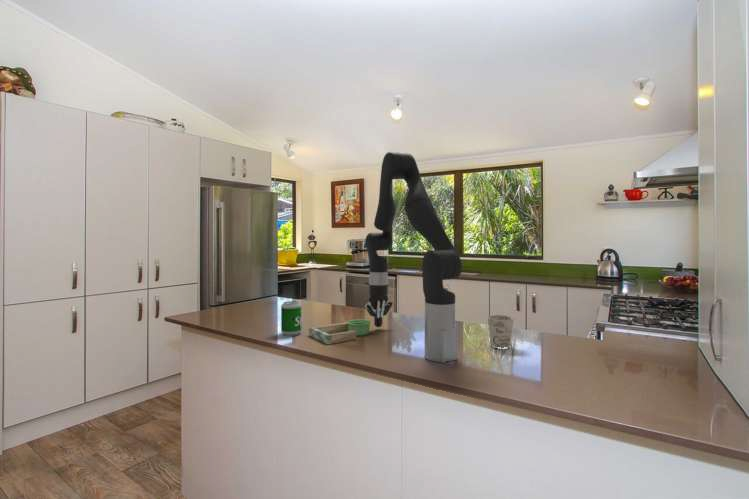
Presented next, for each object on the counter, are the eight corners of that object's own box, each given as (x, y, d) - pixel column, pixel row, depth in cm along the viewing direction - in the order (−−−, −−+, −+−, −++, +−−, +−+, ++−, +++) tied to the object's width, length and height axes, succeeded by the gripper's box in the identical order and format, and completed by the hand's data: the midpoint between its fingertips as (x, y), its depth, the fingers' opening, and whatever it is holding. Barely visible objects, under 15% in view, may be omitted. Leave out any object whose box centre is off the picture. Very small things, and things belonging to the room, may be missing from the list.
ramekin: (371, 330, 159) (371, 319, 159) (369, 336, 150) (369, 324, 150) (349, 330, 160) (349, 319, 160) (345, 335, 151) (345, 324, 151)
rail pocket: (376, 335, 150) (376, 327, 150) (327, 344, 139) (327, 335, 139) (355, 328, 162) (355, 320, 162) (309, 335, 151) (309, 327, 151)
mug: (484, 348, 134) (485, 318, 134) (492, 339, 146) (492, 312, 145) (510, 352, 131) (511, 321, 130) (516, 342, 142) (517, 314, 141)
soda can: (290, 337, 148) (290, 305, 147) (277, 334, 152) (276, 302, 152) (305, 333, 154) (305, 302, 153) (292, 330, 158) (292, 300, 158)
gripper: (369, 285, 152) (369, 330, 153) (397, 283, 160) (397, 326, 161) (359, 283, 159) (359, 327, 159) (386, 281, 166) (386, 322, 167)
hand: (378, 326), depth 160 cm, fingers closed
